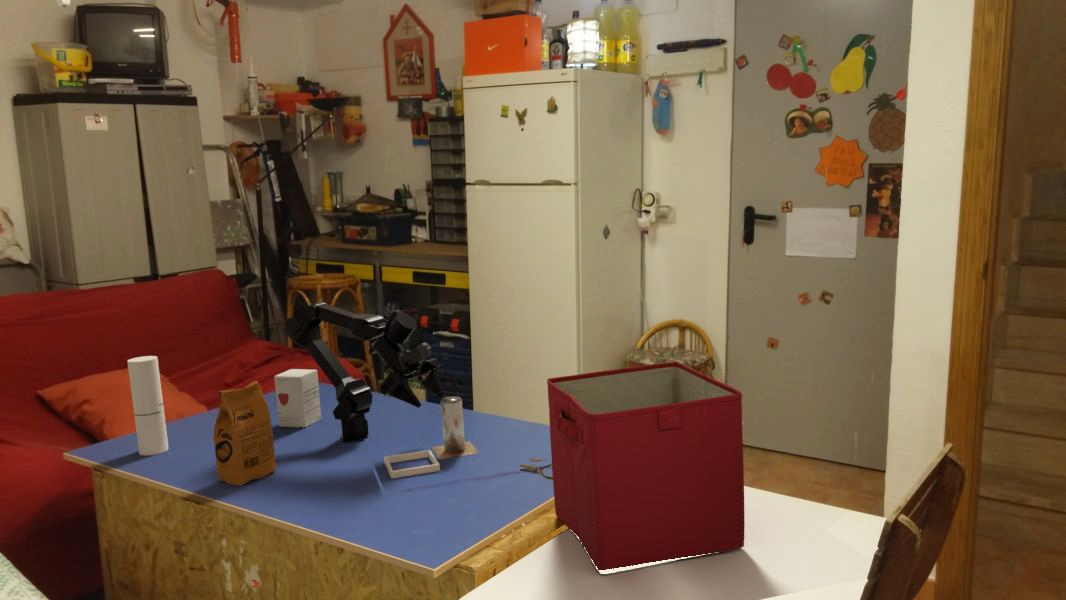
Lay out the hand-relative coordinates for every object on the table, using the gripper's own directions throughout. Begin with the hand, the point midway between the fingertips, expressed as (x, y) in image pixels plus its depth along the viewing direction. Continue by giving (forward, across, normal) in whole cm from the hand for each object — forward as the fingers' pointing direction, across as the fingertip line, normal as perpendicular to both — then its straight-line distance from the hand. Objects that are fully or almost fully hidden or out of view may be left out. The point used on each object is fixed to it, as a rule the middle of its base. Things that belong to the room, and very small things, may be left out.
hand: (431, 401), depth 206 cm
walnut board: (+13, 0, +5) cm, 14 cm away
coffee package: (-13, -32, +31) cm, 47 cm away
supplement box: (-28, +5, +46) cm, 54 cm away
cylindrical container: (-41, -29, +59) cm, 78 cm away
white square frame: (+12, -14, +7) cm, 19 cm away
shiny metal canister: (+13, 0, +4) cm, 13 cm away
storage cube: (+56, -22, -38) cm, 71 cm away
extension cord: (+34, 0, -15) cm, 37 cm away
